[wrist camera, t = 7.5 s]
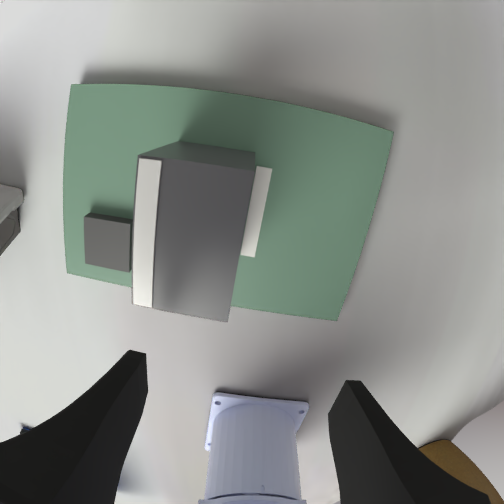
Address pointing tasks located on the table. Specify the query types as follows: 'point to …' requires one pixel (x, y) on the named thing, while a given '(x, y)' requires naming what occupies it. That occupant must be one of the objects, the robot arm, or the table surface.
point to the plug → (189, 227)
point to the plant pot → (460, 467)
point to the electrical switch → (9, 214)
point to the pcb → (262, 194)
